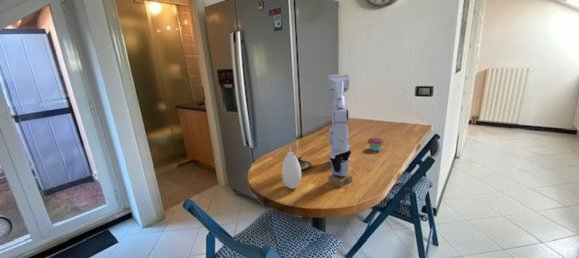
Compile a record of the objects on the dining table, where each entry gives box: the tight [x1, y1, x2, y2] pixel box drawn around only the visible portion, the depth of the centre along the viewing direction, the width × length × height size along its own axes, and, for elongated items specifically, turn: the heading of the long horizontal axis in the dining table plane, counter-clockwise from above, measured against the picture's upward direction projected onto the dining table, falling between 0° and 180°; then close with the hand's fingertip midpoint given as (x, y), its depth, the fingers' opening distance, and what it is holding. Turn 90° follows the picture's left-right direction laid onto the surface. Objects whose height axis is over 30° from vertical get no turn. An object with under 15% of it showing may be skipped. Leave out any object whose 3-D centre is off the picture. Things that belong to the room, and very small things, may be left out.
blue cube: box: [330, 160, 349, 176], centre depth 106 cm, size 5×5×5 cm
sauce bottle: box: [281, 146, 302, 190], centre depth 102 cm, size 8×8×18 cm
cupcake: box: [367, 129, 385, 152], centre depth 143 cm, size 9×8×12 cm
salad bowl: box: [294, 152, 312, 171], centre depth 124 cm, size 12×12×8 cm
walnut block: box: [328, 173, 353, 188], centre depth 107 cm, size 7×7×3 cm
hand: (340, 169), depth 106 cm, fingers closed on blue cube, 5 cm apart
